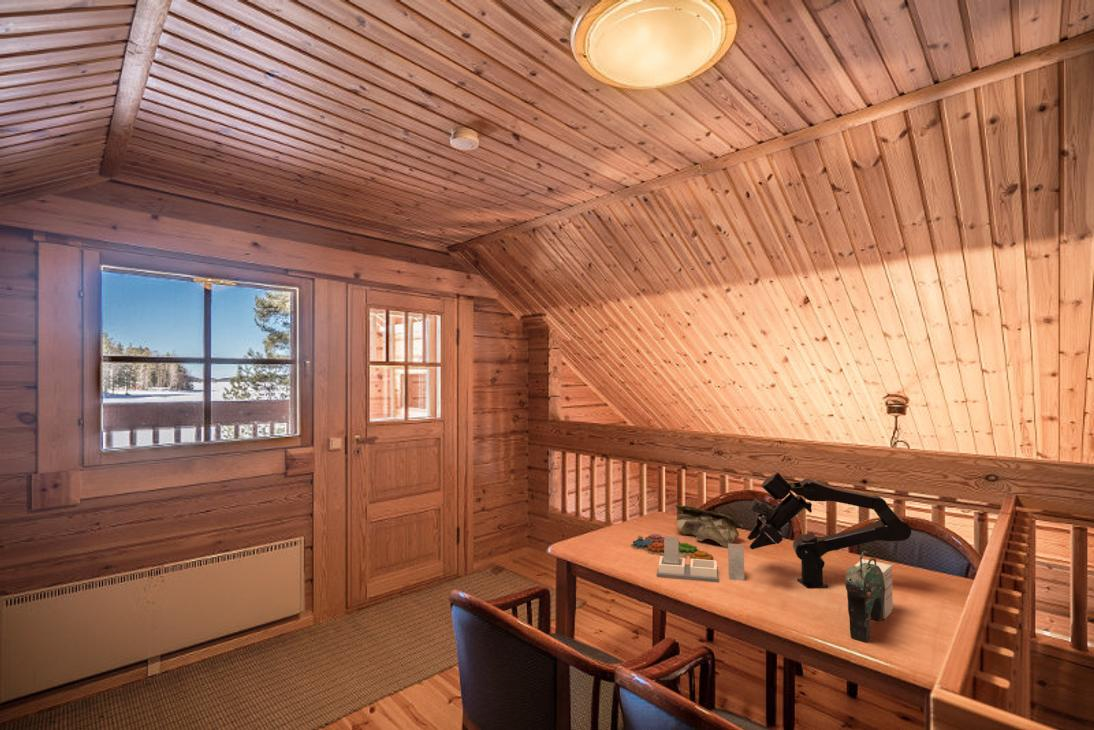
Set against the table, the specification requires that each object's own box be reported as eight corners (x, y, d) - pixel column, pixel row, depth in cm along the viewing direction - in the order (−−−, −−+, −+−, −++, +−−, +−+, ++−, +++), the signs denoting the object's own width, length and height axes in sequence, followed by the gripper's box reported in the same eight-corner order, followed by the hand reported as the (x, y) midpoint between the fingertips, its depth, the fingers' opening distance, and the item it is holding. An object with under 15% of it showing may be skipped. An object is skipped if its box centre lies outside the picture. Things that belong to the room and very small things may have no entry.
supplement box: (854, 611, 145) (853, 564, 146) (863, 602, 151) (862, 557, 151) (885, 620, 140) (884, 571, 140) (894, 610, 145) (892, 564, 145)
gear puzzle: (723, 558, 189) (722, 547, 189) (695, 570, 179) (695, 558, 179) (654, 538, 213) (653, 528, 214) (626, 547, 203) (626, 536, 203)
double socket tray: (718, 569, 178) (717, 559, 178) (718, 582, 167) (718, 571, 167) (659, 564, 183) (659, 554, 183) (656, 576, 173) (656, 565, 173)
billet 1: (679, 567, 178) (678, 536, 178) (678, 571, 174) (678, 541, 174) (665, 565, 179) (665, 535, 179) (664, 570, 175) (664, 540, 175)
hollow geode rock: (676, 543, 221) (658, 521, 215) (690, 517, 226) (672, 495, 221) (736, 559, 198) (717, 535, 192) (749, 530, 204) (731, 506, 198)
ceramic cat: (869, 647, 127) (866, 562, 127) (839, 637, 131) (836, 556, 131) (891, 617, 141) (888, 541, 141) (863, 610, 145) (861, 536, 145)
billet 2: (743, 575, 172) (742, 544, 172) (744, 580, 168) (743, 548, 168) (728, 574, 174) (728, 543, 174) (729, 579, 169) (728, 547, 169)
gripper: (763, 485, 177) (728, 516, 180) (769, 498, 159) (731, 532, 162) (789, 510, 175) (754, 541, 178) (799, 526, 157) (759, 561, 160)
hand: (749, 543), depth 170 cm, fingers open, 9 cm apart
